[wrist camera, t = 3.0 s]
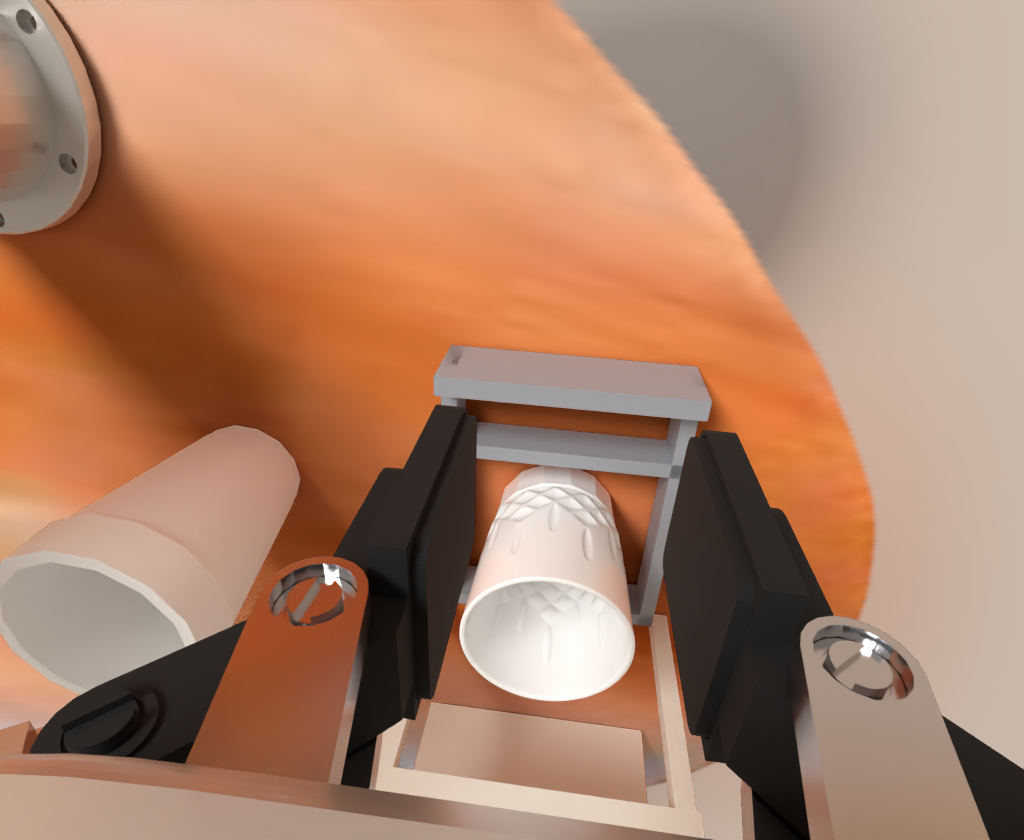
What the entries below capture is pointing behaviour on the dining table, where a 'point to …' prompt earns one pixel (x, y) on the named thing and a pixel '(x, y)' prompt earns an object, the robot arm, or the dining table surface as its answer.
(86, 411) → the dining table surface
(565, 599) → the white cup
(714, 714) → the robot arm
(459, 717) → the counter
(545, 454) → the tray
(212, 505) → the foam cup
